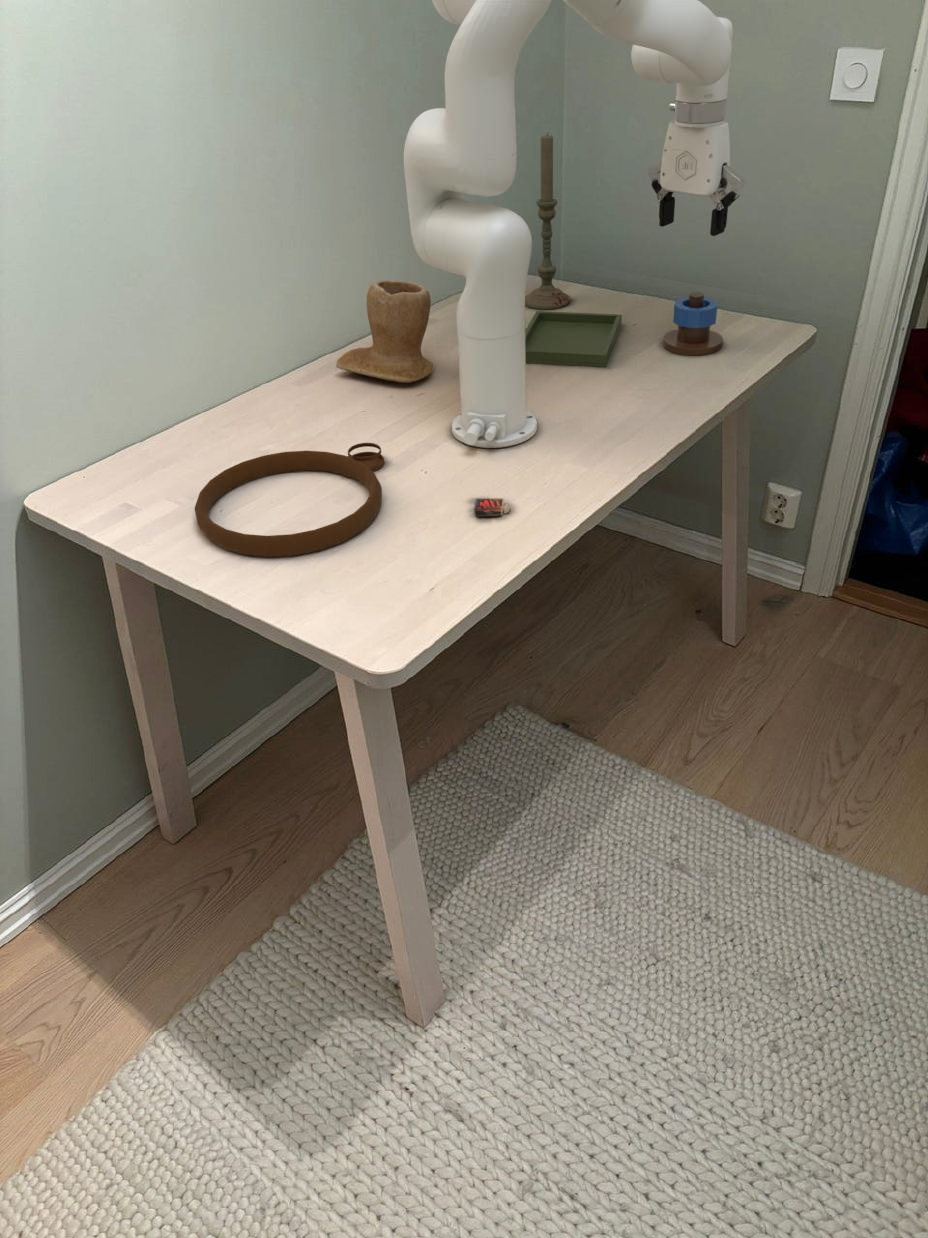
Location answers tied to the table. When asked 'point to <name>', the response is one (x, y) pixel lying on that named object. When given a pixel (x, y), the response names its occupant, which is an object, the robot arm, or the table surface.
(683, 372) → the table surface
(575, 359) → the tray
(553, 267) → the candlestick holder
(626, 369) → the table surface
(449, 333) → the table surface
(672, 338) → the stand
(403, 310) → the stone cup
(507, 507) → the matchbox
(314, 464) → the decorative ring
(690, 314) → the ring
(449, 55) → the robot arm
